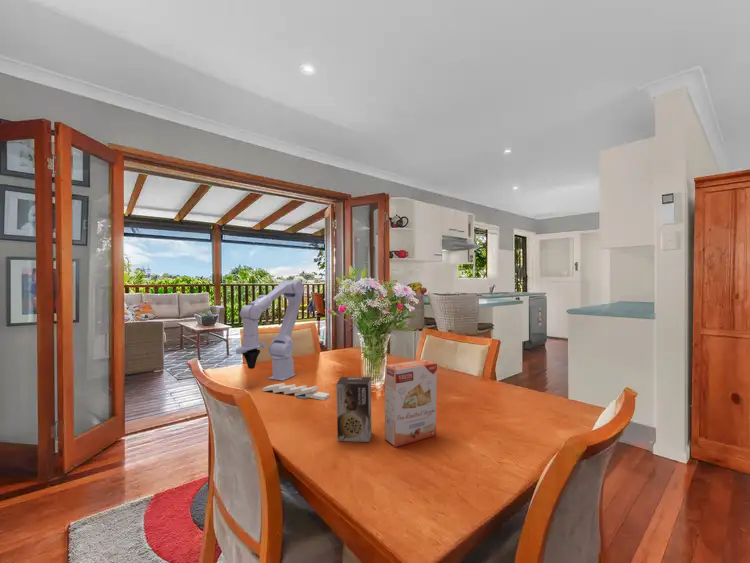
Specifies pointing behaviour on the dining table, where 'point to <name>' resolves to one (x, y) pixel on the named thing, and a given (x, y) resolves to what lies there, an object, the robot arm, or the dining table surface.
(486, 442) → the dining table surface
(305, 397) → the plate
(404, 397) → the cracker box
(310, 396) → the domino
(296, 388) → the domino
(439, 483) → the dining table surface
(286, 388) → the domino
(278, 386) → the domino
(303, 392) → the domino
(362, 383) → the dark brown upright box
